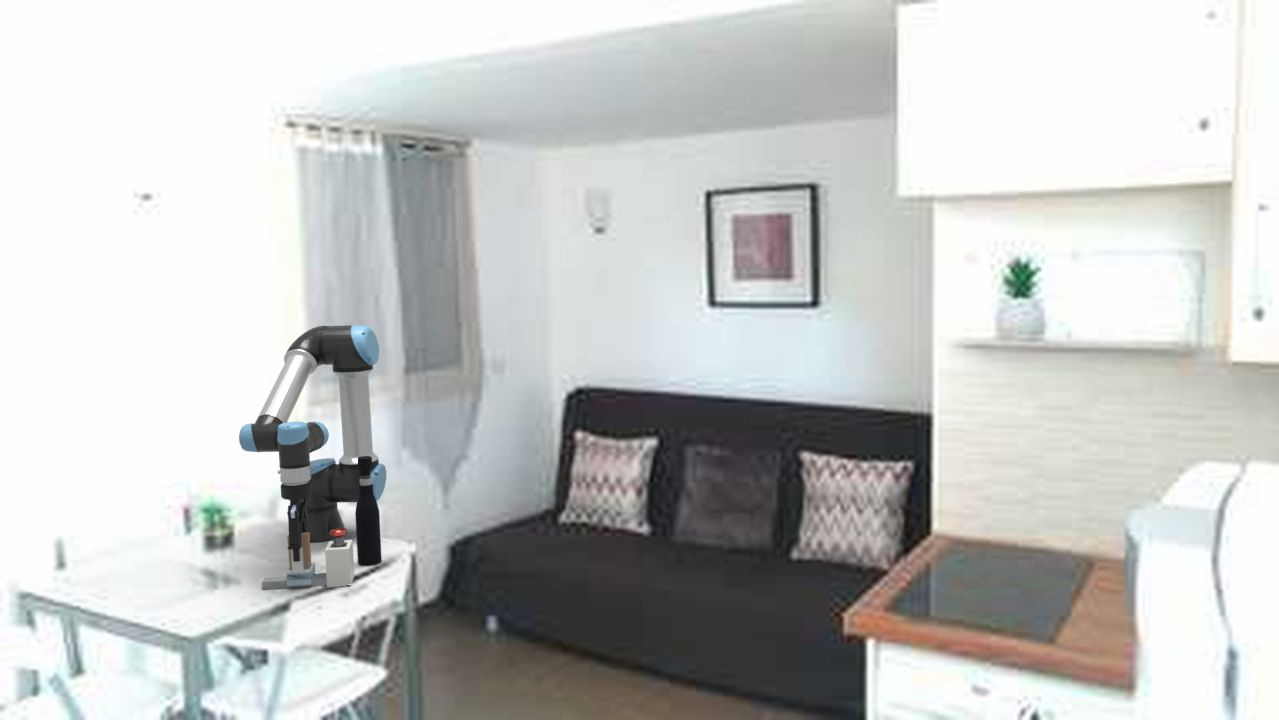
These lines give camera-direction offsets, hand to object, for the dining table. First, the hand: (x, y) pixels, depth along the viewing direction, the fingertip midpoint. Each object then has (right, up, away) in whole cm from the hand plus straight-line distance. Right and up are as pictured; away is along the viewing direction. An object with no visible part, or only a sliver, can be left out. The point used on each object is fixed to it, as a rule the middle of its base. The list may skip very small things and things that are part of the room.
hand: (300, 567), depth 258 cm
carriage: (0, -4, +1) cm, 5 cm away
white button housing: (+10, -4, +2) cm, 11 cm away
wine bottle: (+13, -2, +18) cm, 22 cm away
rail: (-1, -5, 0) cm, 5 cm away
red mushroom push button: (+10, +3, +1) cm, 10 cm away
